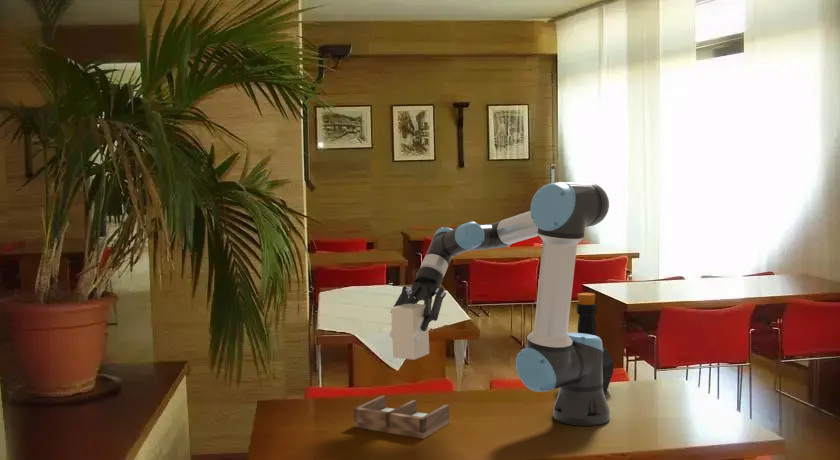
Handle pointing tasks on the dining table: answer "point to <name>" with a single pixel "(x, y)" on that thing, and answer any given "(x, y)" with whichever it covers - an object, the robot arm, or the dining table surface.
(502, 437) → the dining table surface
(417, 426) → the rack
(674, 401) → the dining table surface
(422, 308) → the white block
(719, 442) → the dining table surface
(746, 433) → the dining table surface
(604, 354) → the bottle
